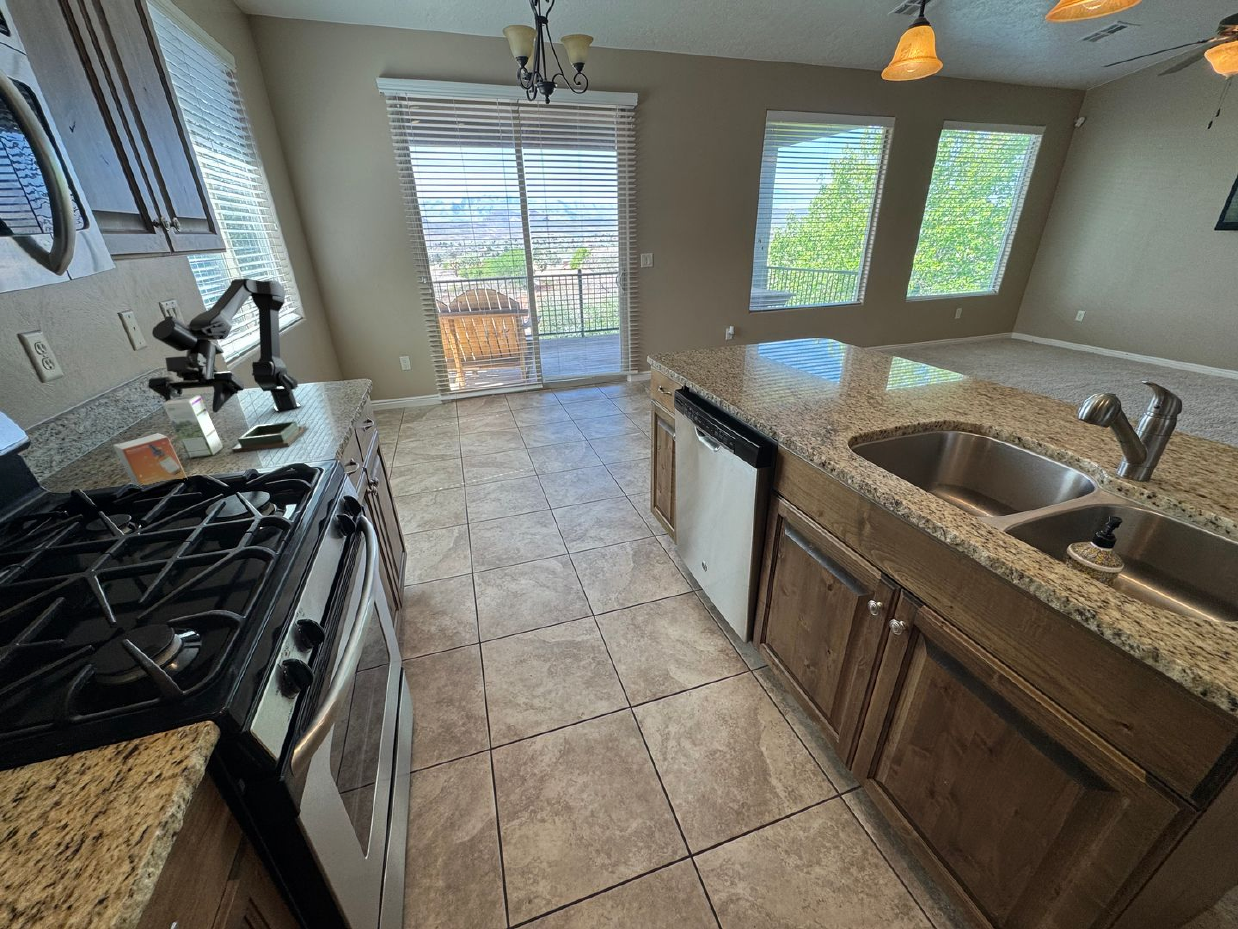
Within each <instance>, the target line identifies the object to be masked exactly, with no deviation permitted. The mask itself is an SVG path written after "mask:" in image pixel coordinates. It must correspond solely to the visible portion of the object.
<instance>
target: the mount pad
mask: <svg viewBox="0 0 1238 929" xmlns="http://www.w3.org/2000/svg"><path fill="white" fill-rule="evenodd" d="M307 429H308V427H307V426H306V425H299V426H298V424H297V421H288V422H277V423H268V424H267V423H266V424H257V425H255V426H253V427H251V429H249V430H248V431H247V432H245V433H244V434H243V435H241V436H240V437H239V438H237V441H238V443H237V444H236V445H235V446H234V447H232V448H231V451H232V453H233V454H234V453H242V452H252V451H261V450H270V449H278V448H288V447H290V446H291V445H292V444H293V443H295V441H296V440H298V438H299V437H300V436H301V435H303V434H304V432H306V430H307Z"/></svg>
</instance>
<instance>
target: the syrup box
mask: <svg viewBox="0 0 1238 929" xmlns="http://www.w3.org/2000/svg"><path fill="white" fill-rule="evenodd" d="M162 406H163V408H164V411H165V412H166V414H167V417H168V419H169V421H170V423H171V426H172V427H173V429H174V431H175V434H176V435H177V437H178V440H179V442H180V444H181V446H182V448H183V450H184V452H185V454H186V456H187V458H188V459H193V458H199V457H201V458H202V457H208V456H209V457H210V456H214V455H216V454H217V453H218V452H219V451H220V450H222V449H223V448H224V445H223V444H222V441H221V439H220V436H219V435H218V433H217V431H216V428H215V426H214V424H213V422H212V419H211V417H210V415H209V412H208V410H207V407H206V405H205V403H204V401H203V398H202V396H201V395H200V394H197V395H187V396H182V397H178V398H172V399H170V400H168V401H167V402H166V401H165V402H164V403H162Z"/></svg>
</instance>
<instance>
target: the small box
mask: <svg viewBox="0 0 1238 929" xmlns="http://www.w3.org/2000/svg"><path fill="white" fill-rule="evenodd" d="M112 447H113V449H114V451H115V453H116V455H117V456H118V459H119V460H120V462H121V464H122V467H123V468H124V470H125V472H126V474H127V475H128V477H129V479H130V482H131V483H132V485H133V486H134V485H140V486H142V485H149V484H153V483H156V482H160V481H166V480H171V479H183V478H187V479H188V477H187V475H186V473H185V470H184V468H183V466H182V464H181V462H180V460H179V458H178V455H177V453H176V452H175V449H174V447H173V445H172V443H171V441H170V439H169V437H168V436H166V435H164V434H161V433H160V432H157V433H153V434H150V435H147V436H142V437H140V438H135V439H132V440H128V441H123V442H121V443H115V444H113V445H112Z"/></svg>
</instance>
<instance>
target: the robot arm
mask: <svg viewBox="0 0 1238 929" xmlns="http://www.w3.org/2000/svg"><path fill="white" fill-rule="evenodd" d="M250 297H251V301H252V302H253V304H254V305H255V307H256V308H257V310H258V326H259V350H260V355H259V356H260V357H259V358H258V360H257V361H252V364H251V367H252V373H251V376H253V380H254V382H255V383H256V384H257V385H258V386H259V388H260V389H261V390H262V391H263V392H270V394H271V396H272V400H273V403H274V406H273V409H274V410H275V411H276V412H277V413H279V412H284V411H289V410H294V409H297V408H298V409H299V408H301V405H300V404H299V403H298V402H297V399H296V397H295V394H294V391H293V390H296V389H297V388H298V387H299V384H298V380H297V379H296V378H294V377H293V376H291V375H290V374H288V369H287V366H286V364H285V363H284V361H283V360H282V358H281V339H280V338H281V337H280V313H279V312H280V311H281V309H282V307H283V306H284V305H285V300H286V299H285V298H286V290H285V287H284V286H283V285H282V284H281V283H280V282H279V281H278V280H258V279H257V280H256V279H251V278H234V279H233V280H231V281H230V285H229V287H228V288H227V289H226V290H225V291H224V292H223V293H222V295H221V296H220V297H219V298H218V299H217V301H216V302H215V303H214V304H213V306H212V307H211V308H209V309H208V310H206V311H203V312H201V313H199V314H197V315H196V316H195V317H194V318H192V319H191V320H190V322H189V324H185V323H184V322H183V321H181V320H180V319H179V318H177V317H176V316H174V315H167V316H165V318H164V320H161V321H160V322H159V323H157V324H156V326H153V328H152V331H151V332H152V337H153V338H154V339H156V340H157V341H160V342H161V343H163V344H165V345H167V346H169V347H171V348H172V349H174V350H176V351H179V352H185V351H186V355H185V356H184V355H182V356H168V357H165V366H166V372H170V373H171V372H173V373H175V374H176V377H178V378H179V379H182V380H174V379H173V378H172V377H170V376H159V377H151V378H149V380H148V383H147V388H148V389H151V390H152V391H153V392H155V393H157V394H158V395H160V396H161V397H163V398H164V400H165V402H167V401H168V400H170V399H172V398H178V397H183V396H182V394H183V390H187V389H203V388H213V397H212V408H211V409H212V412H213V413H215V414H216V413H218V412H219V411H220V409H221V408H222V407H223V406H224V405H225V404H226V403H227V402H228V401H229V400H230V399H231V398H232V397H233V396H234V395H235V394H239V392H242V391H244V390H245V382H244V380H242V379H241V378H240V377H239V376H238V375H236V374H235V372H233V371H231V370H230V371H218V369H219V368H217V367H216V366H215V364H216V355H221V354H224V350H223V348H221V347H220V346H219V344H218V343H214V342H212V341H213V340H214V341H217V340H218V341H220V340H225V339H227V338H228V337H229V334H230V332H231V331H232V327H233V324H232V320H233V318H234V317H235V316H236V314H237V313H238V312H239V311H240V309H241V308H242V307H243V305H244V304H245V303H246V302H247V301H248V299H249V298H250Z"/></svg>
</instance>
